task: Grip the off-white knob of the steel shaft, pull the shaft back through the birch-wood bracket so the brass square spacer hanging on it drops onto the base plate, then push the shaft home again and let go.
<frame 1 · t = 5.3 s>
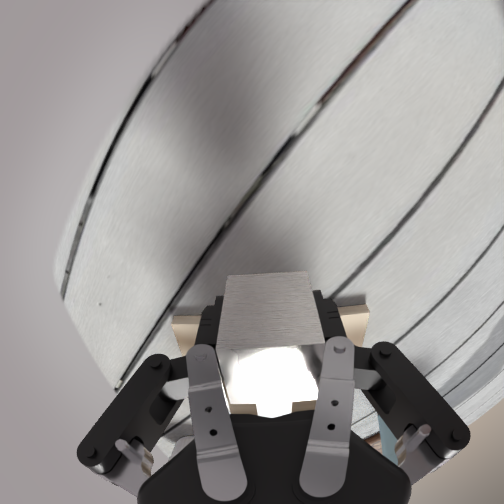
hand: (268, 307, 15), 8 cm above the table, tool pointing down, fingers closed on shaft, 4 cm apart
bracket: (273, 377, 30), on the table
cup: (393, 409, 35), on the table
ramekin: (203, 443, 41), on the table
shaft: (275, 432, 18), point 10 cm above the table, slide at 0.0 cm, touching gripper, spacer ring
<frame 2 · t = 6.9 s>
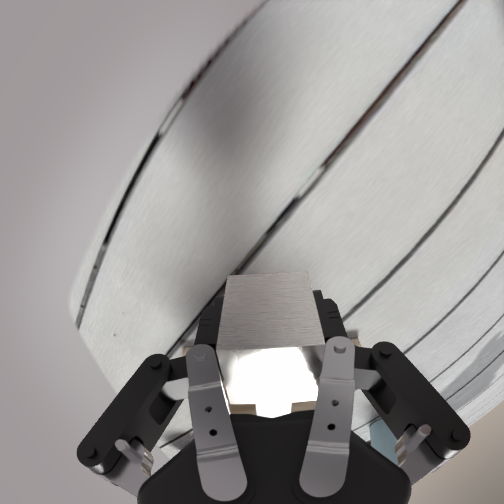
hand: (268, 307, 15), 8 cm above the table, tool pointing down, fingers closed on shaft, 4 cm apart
bracket: (273, 397, 32), on the table
cup: (384, 422, 38), on the table
shaft: (274, 432, 18), point 10 cm above the table, slide at 4.5 cm, touching gripper, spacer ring
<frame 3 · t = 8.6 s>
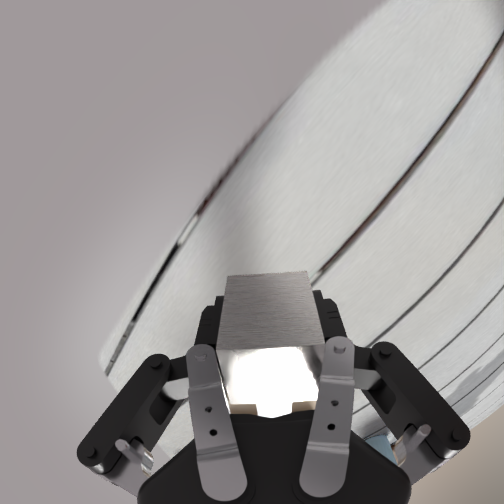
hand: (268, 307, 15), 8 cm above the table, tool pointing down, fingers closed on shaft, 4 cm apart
bracket: (276, 425, 36), on the table
cup: (373, 440, 42), on the table
shaft: (275, 432, 18), point 10 cm above the table, slide at 13.2 cm, touching gripper
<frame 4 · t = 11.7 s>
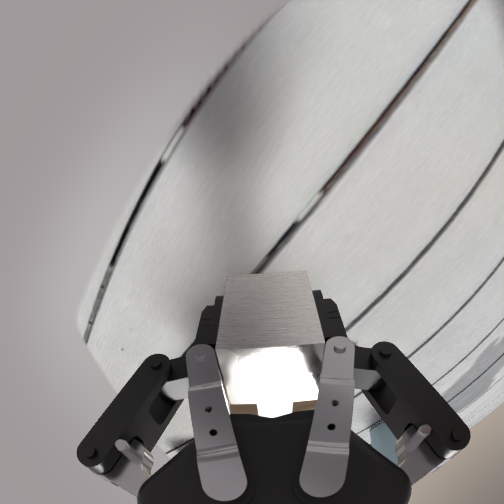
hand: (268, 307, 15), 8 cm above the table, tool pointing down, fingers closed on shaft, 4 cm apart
bracket: (276, 405, 33), on the table
cup: (384, 426, 38), on the table
shaft: (276, 432, 18), point 10 cm above the table, slide at 6.4 cm, touching gripper
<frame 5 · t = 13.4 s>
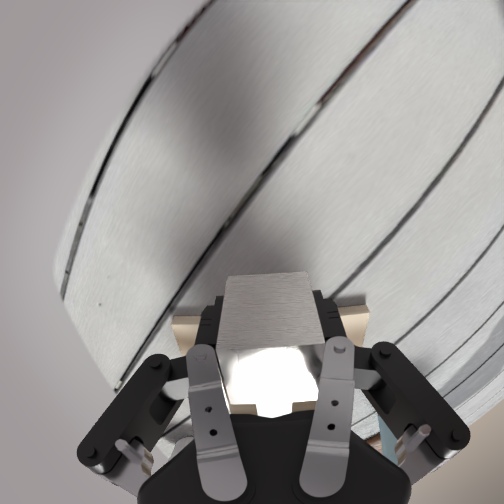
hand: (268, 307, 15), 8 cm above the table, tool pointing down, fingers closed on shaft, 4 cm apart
bracket: (273, 378, 30), on the table
cup: (393, 410, 35), on the table
ramekin: (203, 444, 41), on the table
shaft: (275, 433, 18), point 10 cm above the table, slide at -0.1 cm, touching gripper
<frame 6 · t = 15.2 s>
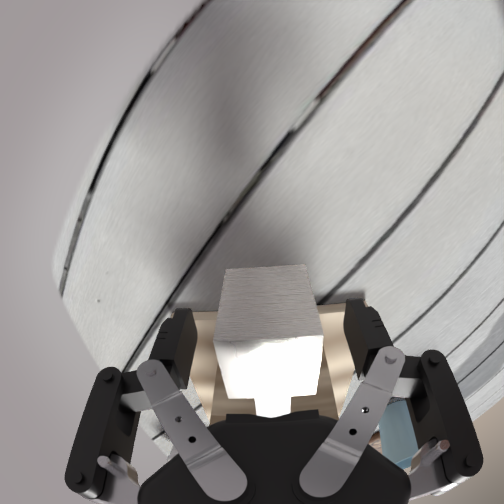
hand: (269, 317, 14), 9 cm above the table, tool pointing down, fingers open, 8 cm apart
bracket: (272, 375, 30), on the table
cup: (392, 408, 35), on the table
shaft: (274, 429, 18), point 10 cm above the table, slide at 0.0 cm
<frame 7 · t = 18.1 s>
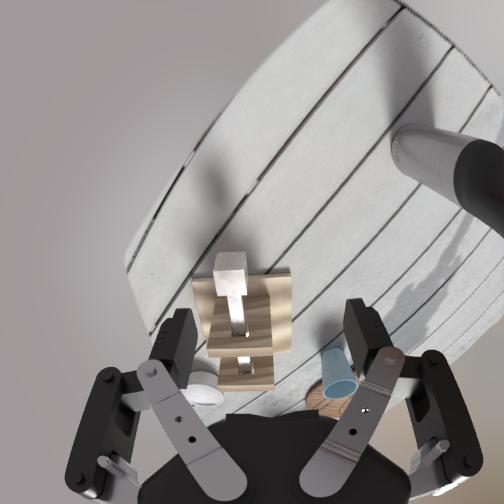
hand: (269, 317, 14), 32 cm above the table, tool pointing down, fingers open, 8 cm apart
bracket: (246, 317, 56), on the table
cup: (332, 354, 62), on the table
trivet: (347, 391, 70), on the table
ramekin: (204, 379, 67), on the table
shaft: (240, 330, 44), point 10 cm above the table, slide at 0.0 cm
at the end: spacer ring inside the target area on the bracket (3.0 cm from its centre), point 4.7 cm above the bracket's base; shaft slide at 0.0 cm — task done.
